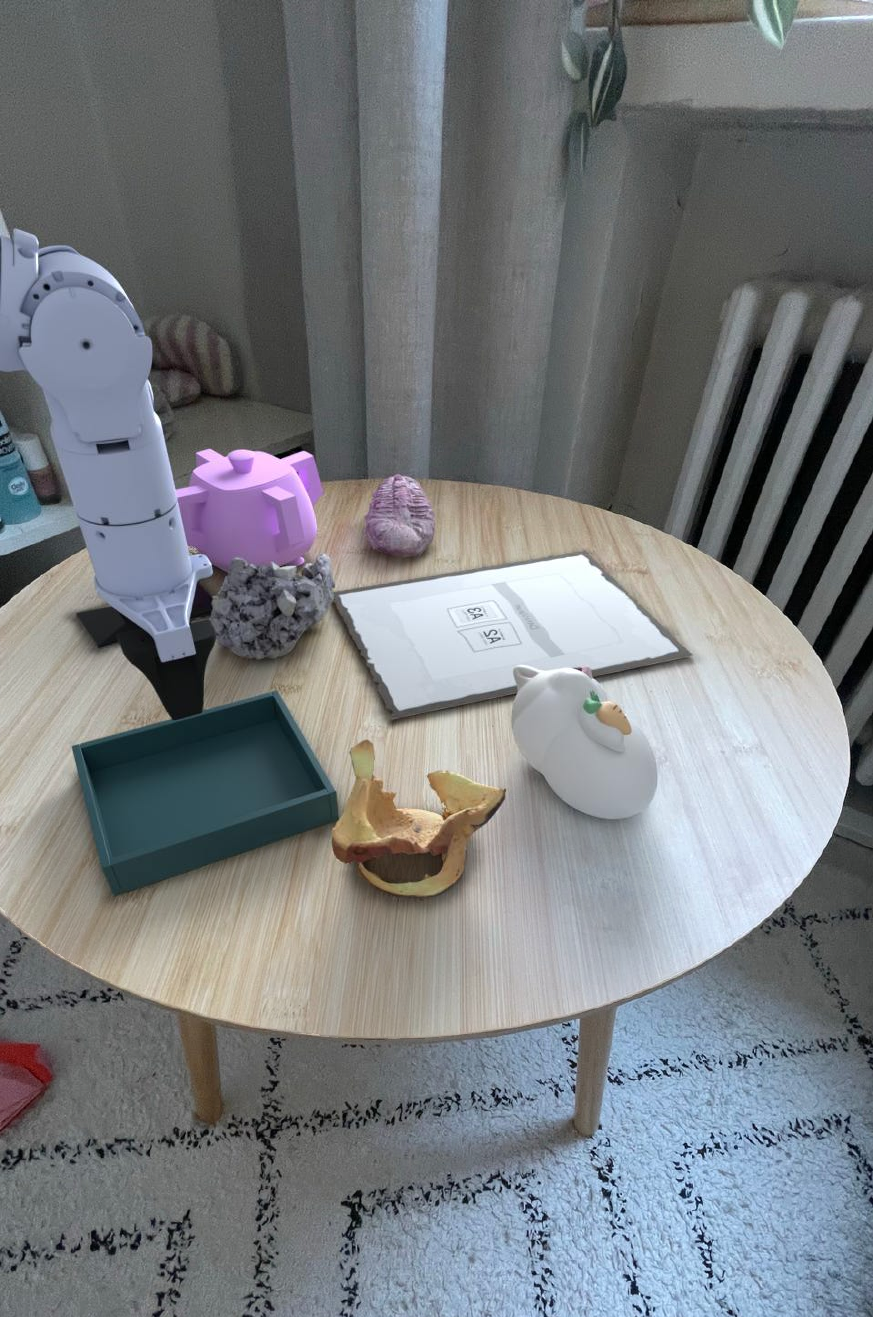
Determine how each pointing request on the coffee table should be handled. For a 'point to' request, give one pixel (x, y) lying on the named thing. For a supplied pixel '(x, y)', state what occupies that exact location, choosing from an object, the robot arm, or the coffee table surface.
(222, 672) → the coffee table surface
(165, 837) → the tray
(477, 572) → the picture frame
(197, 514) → the pot
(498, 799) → the bone
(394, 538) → the fossil
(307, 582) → the mineral specimen
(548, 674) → the cat figurine
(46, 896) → the coffee table surface
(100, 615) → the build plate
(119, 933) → the coffee table surface
